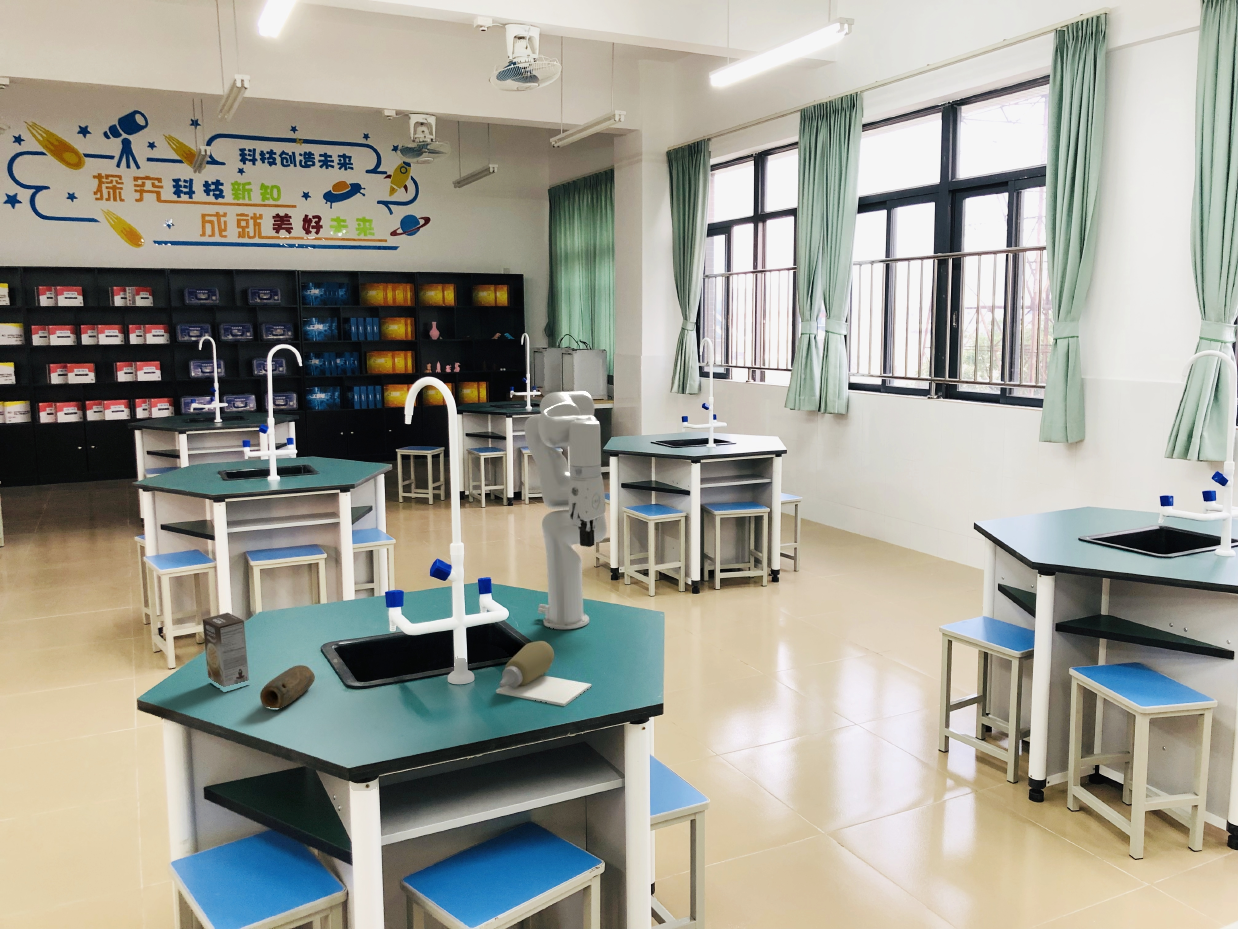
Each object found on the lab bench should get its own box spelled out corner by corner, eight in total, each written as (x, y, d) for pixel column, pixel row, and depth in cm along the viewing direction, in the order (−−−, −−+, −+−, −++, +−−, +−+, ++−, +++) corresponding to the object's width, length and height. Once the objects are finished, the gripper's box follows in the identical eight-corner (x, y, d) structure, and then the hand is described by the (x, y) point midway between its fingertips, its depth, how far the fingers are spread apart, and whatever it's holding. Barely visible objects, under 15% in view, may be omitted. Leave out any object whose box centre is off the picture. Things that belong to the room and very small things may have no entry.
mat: (496, 692, 213) (496, 690, 213) (525, 674, 224) (525, 672, 224) (564, 706, 205) (564, 703, 205) (591, 686, 216) (591, 684, 215)
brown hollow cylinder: (290, 714, 205) (287, 684, 204) (259, 713, 206) (256, 684, 205) (318, 687, 220) (316, 660, 219) (289, 687, 221) (287, 659, 220)
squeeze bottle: (531, 631, 225) (487, 663, 210) (560, 642, 222) (517, 675, 206) (528, 661, 228) (485, 694, 212) (557, 672, 224) (515, 707, 209)
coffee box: (207, 683, 224) (200, 618, 221) (233, 675, 228) (227, 611, 226) (224, 693, 217) (218, 626, 215) (251, 685, 222) (245, 619, 219)
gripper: (582, 478, 218) (583, 555, 221) (614, 467, 231) (615, 540, 234) (554, 475, 222) (557, 551, 225) (588, 465, 234) (590, 536, 238)
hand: (587, 545), depth 230 cm, fingers closed
